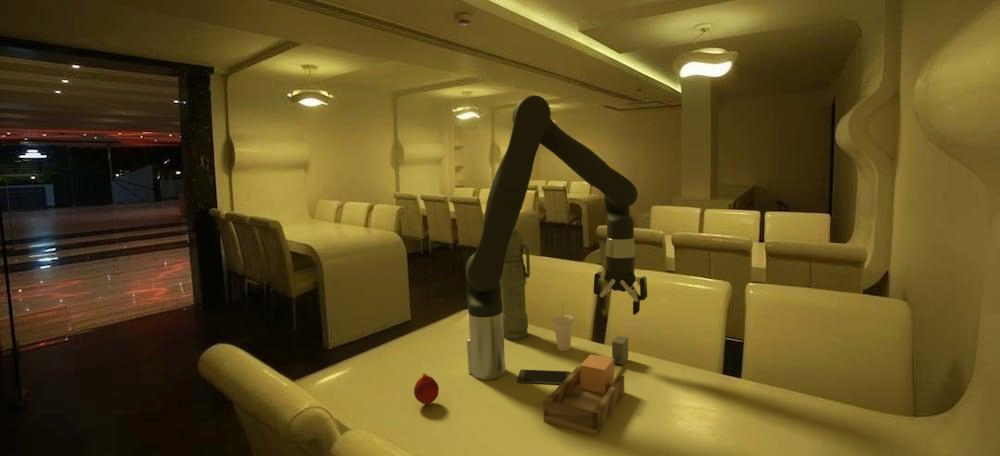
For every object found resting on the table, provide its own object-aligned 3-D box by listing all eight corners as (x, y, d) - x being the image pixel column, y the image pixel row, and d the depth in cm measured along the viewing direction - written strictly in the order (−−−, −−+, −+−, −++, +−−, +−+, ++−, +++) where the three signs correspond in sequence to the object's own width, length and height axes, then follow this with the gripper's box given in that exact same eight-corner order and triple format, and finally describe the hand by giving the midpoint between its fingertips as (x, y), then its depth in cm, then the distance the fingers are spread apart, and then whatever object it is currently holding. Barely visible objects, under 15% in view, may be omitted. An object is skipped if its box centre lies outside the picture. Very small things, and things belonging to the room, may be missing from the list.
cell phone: (520, 371, 126) (520, 369, 126) (571, 373, 123) (571, 371, 123) (516, 384, 119) (516, 381, 119) (570, 386, 116) (570, 384, 116)
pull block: (605, 398, 108) (604, 370, 107) (580, 393, 111) (580, 365, 110) (633, 358, 129) (633, 334, 128) (612, 355, 132) (612, 331, 131)
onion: (443, 400, 112) (441, 369, 110) (432, 412, 106) (430, 380, 105) (422, 397, 113) (420, 366, 112) (410, 409, 108) (408, 377, 107)
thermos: (500, 329, 158) (495, 229, 153) (534, 331, 155) (530, 228, 150) (494, 339, 149) (489, 233, 144) (529, 341, 146) (526, 233, 142)
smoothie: (573, 344, 142) (572, 300, 140) (575, 352, 136) (574, 307, 134) (553, 344, 143) (551, 300, 141) (553, 352, 137) (552, 307, 135)
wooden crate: (596, 436, 94) (596, 416, 94) (543, 421, 100) (543, 402, 100) (624, 393, 111) (624, 375, 110) (577, 383, 117) (577, 366, 117)
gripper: (590, 254, 125) (590, 312, 127) (643, 258, 117) (642, 319, 120) (599, 249, 131) (599, 304, 133) (650, 253, 124) (649, 311, 126)
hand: (619, 311), depth 126 cm, fingers open, 8 cm apart
